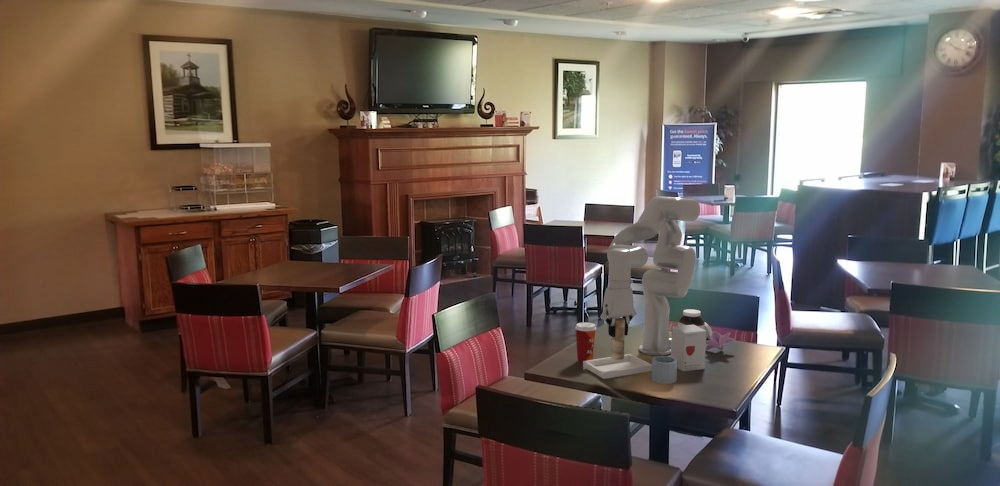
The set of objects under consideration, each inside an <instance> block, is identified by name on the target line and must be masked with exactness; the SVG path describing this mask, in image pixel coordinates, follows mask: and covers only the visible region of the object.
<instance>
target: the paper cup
mask: <svg viewBox="0 0 1000 486" xmlns="http://www.w3.org/2000/svg"><path fill="white" fill-rule="evenodd" d="M574 328H575V336H576V337H575V338H576V340H575V341H576V355H577V358H576V359H577V362H578V363H579V364H582V365H583V361H587V360H593V359H594V353H595V339H596V330H597V327H596V324H594V323H592V322H578V323H576V326H575V327H574Z"/></svg>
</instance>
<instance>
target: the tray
mask: <svg viewBox="0 0 1000 486" xmlns="http://www.w3.org/2000/svg"><path fill="white" fill-rule="evenodd" d="M582 370H583V371H584V370H588V371H590V372H591V373H593V374H595V375H596V376H598V377H600V378H602V379H603V380H605V379H612V378H616V377H618V378H619V377H623V376H631V375H636V374H640V373H641V374H642V373H643V374H644V373H648V372H652V363H650V362H648V361H646V360H644V359H642V358H640V357H638V356H636V355H634V354H632V353H628V354H624V359H622V360H615V359H612V358H611V356H608V357H602V358H601V357H600V358H596V359H595V358H593V360H587V361H583V364H582Z"/></svg>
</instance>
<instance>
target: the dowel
mask: <svg viewBox="0 0 1000 486" xmlns="http://www.w3.org/2000/svg"><path fill="white" fill-rule="evenodd" d="M614 326H615V337H612V336H611V347H610V348H611V353H610V354H611V355H610V357H611V358H612V359H615V360H622V359H624V355H625V336H626V335H625V319H624V318H622V317H616V318H615V323H614Z"/></svg>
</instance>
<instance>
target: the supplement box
mask: <svg viewBox="0 0 1000 486" xmlns="http://www.w3.org/2000/svg"><path fill="white" fill-rule="evenodd" d="M671 339H672V342H671V353H670V357H673V358H675V359H677V370H679V371H682V372H691V371H697V370H706V369H705V366H706V346H707V344H706V341H707V338H706V330H704V329H702V328H700V327H698V326H696V325H682V326H678V325H672V326H671Z"/></svg>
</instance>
